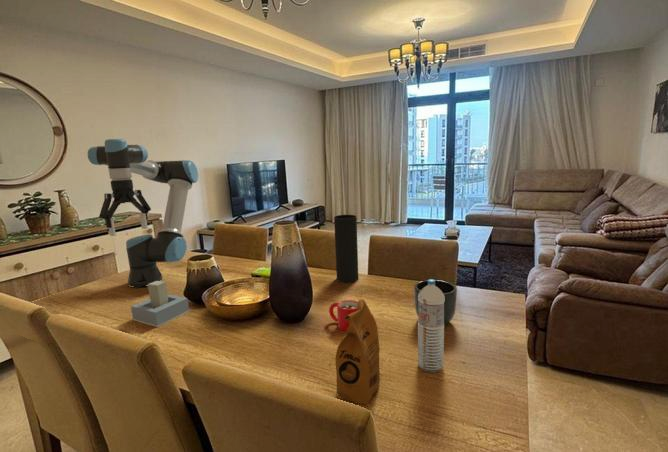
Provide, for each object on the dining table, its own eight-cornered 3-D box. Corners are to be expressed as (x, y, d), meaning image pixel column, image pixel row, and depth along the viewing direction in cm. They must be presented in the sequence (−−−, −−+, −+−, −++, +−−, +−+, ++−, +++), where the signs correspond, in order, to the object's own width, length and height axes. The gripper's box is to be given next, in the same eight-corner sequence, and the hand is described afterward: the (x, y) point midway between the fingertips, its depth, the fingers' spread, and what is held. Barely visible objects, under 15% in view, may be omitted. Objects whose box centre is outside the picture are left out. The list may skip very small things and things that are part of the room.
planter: (411, 328, 123) (411, 292, 120) (417, 311, 136) (417, 278, 133) (455, 334, 118) (456, 296, 116) (456, 315, 131) (457, 281, 128)
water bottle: (414, 360, 104) (414, 276, 99) (438, 358, 105) (439, 275, 100) (422, 374, 98) (422, 285, 93) (447, 372, 98) (449, 283, 93)
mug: (335, 317, 134) (334, 296, 133) (364, 323, 128) (364, 302, 127) (323, 326, 128) (322, 304, 126) (354, 333, 122) (353, 311, 120)
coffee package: (330, 398, 90) (326, 314, 86) (350, 371, 101) (348, 295, 96) (368, 409, 86) (365, 321, 81) (385, 379, 96) (384, 300, 92)
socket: (165, 306, 151) (163, 293, 150) (189, 311, 144) (187, 298, 143) (133, 320, 139) (131, 306, 138) (157, 327, 132) (155, 312, 131)
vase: (358, 282, 168) (356, 218, 162) (336, 283, 168) (334, 219, 162) (357, 275, 178) (355, 214, 172) (336, 276, 178) (334, 215, 172)
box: (171, 313, 142) (166, 281, 140) (161, 317, 138) (157, 285, 136) (161, 311, 144) (156, 280, 142) (151, 315, 140) (146, 284, 138)
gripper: (144, 176, 157) (151, 225, 161) (82, 182, 136) (92, 238, 140) (155, 176, 154) (162, 226, 158) (94, 182, 132) (103, 239, 136)
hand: (129, 232), depth 149 cm, fingers open, 13 cm apart
